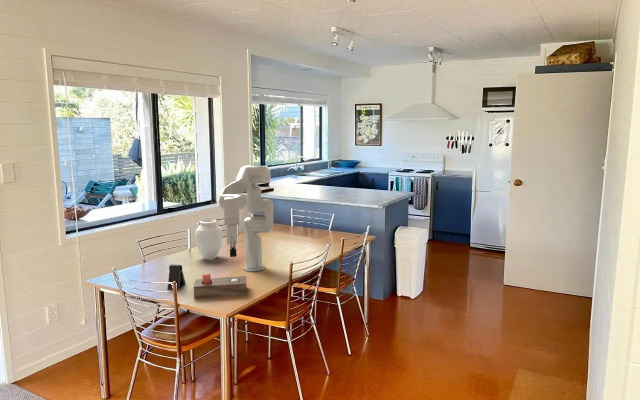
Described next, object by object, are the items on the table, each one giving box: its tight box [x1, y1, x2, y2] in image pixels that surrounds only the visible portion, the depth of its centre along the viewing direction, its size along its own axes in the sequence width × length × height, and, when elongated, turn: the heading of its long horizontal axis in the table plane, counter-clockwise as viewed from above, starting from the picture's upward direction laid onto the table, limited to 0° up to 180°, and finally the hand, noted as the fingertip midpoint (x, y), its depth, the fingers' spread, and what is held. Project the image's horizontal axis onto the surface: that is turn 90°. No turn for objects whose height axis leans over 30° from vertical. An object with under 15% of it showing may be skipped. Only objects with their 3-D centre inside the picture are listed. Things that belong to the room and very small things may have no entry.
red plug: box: [202, 273, 212, 284], centre depth 237 cm, size 4×4×6 cm
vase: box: [194, 218, 224, 261], centre depth 300 cm, size 18×18×25 cm
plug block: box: [193, 275, 248, 299], centre depth 239 cm, size 12×26×6 cm, turn 99°
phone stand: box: [167, 264, 186, 290], centre depth 248 cm, size 9×6×12 cm, turn 170°
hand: (233, 256), depth 238 cm, fingers closed
